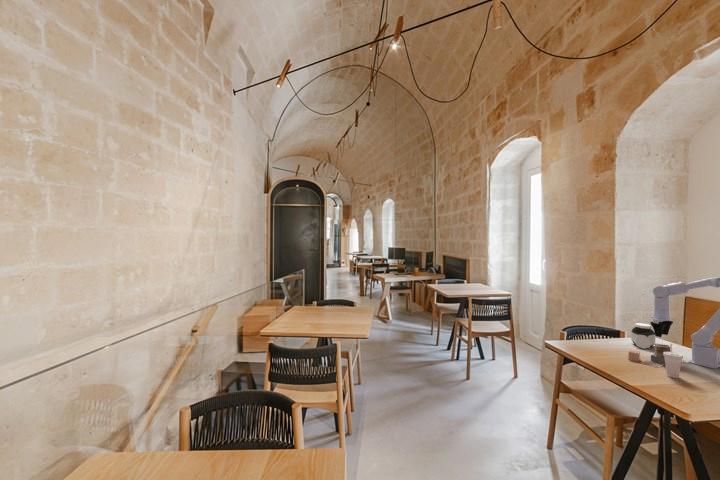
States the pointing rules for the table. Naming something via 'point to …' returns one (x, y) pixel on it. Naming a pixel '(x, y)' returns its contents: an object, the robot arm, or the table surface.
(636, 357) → the terracotta cube
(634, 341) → the spread jar
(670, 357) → the smoothie
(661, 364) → the swatch
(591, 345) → the table surface
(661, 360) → the plinth
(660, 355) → the walnut cube
